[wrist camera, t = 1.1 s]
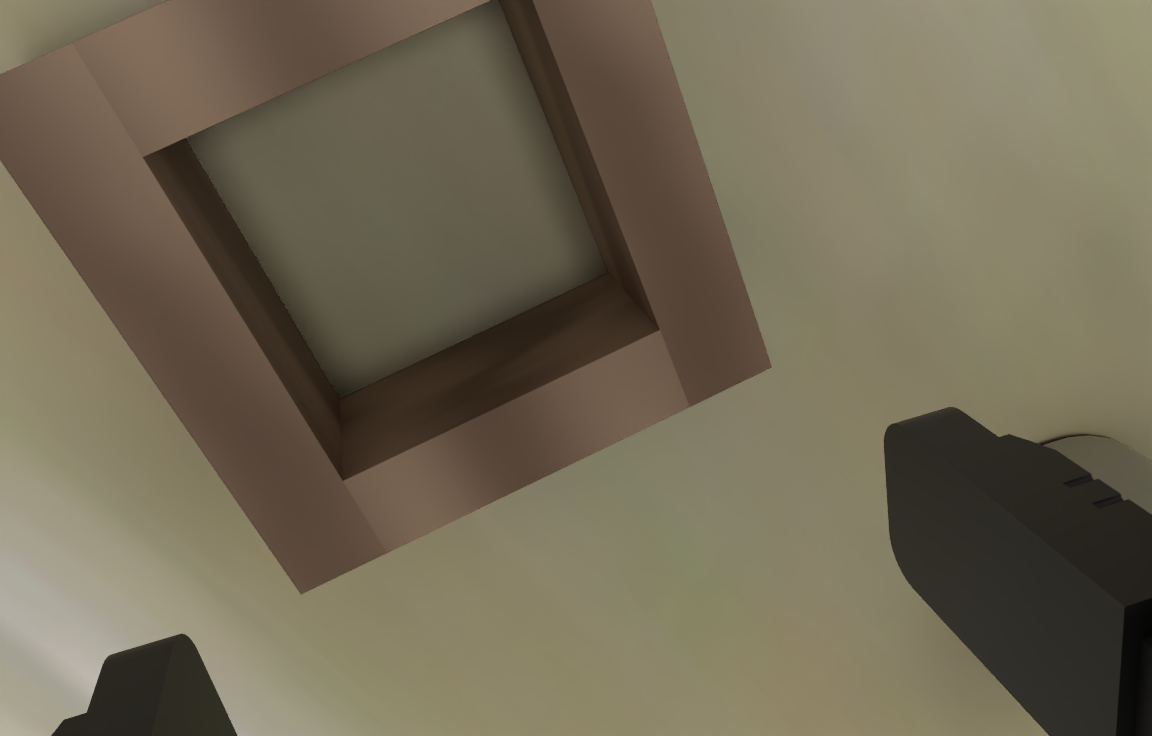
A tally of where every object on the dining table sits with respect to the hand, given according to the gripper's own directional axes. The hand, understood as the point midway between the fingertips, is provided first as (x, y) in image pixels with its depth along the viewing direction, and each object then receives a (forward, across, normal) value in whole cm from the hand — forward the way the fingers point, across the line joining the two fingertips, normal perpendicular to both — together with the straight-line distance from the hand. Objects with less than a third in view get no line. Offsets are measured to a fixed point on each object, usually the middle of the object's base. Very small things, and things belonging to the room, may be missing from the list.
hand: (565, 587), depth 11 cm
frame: (+18, 0, 0) cm, 18 cm away
